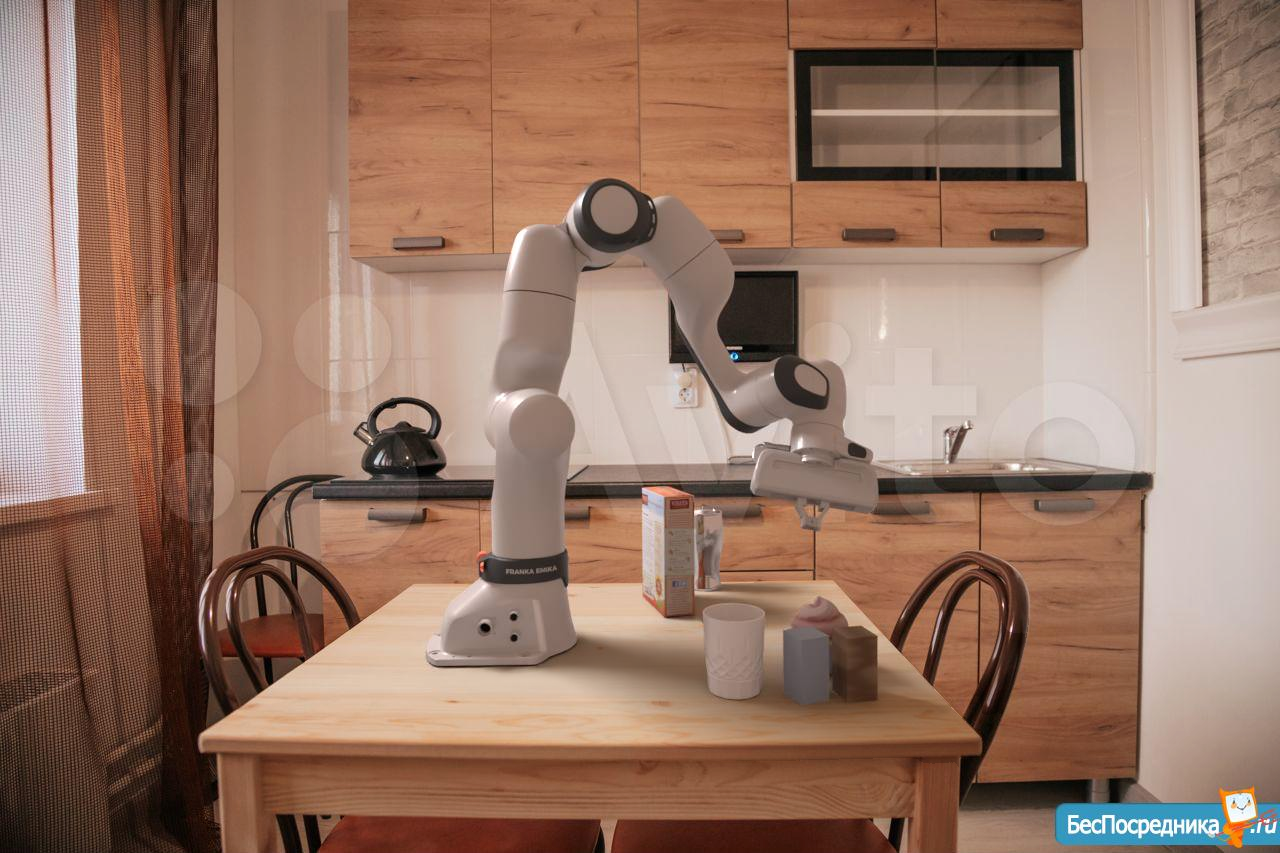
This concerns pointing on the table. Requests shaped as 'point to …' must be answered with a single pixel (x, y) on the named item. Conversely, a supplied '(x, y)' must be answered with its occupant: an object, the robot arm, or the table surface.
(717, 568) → the beer glass
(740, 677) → the white cup
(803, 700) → the slate-blue block
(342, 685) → the table surface
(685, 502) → the cracker box
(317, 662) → the table surface
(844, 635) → the walnut block
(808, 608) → the cupcake
